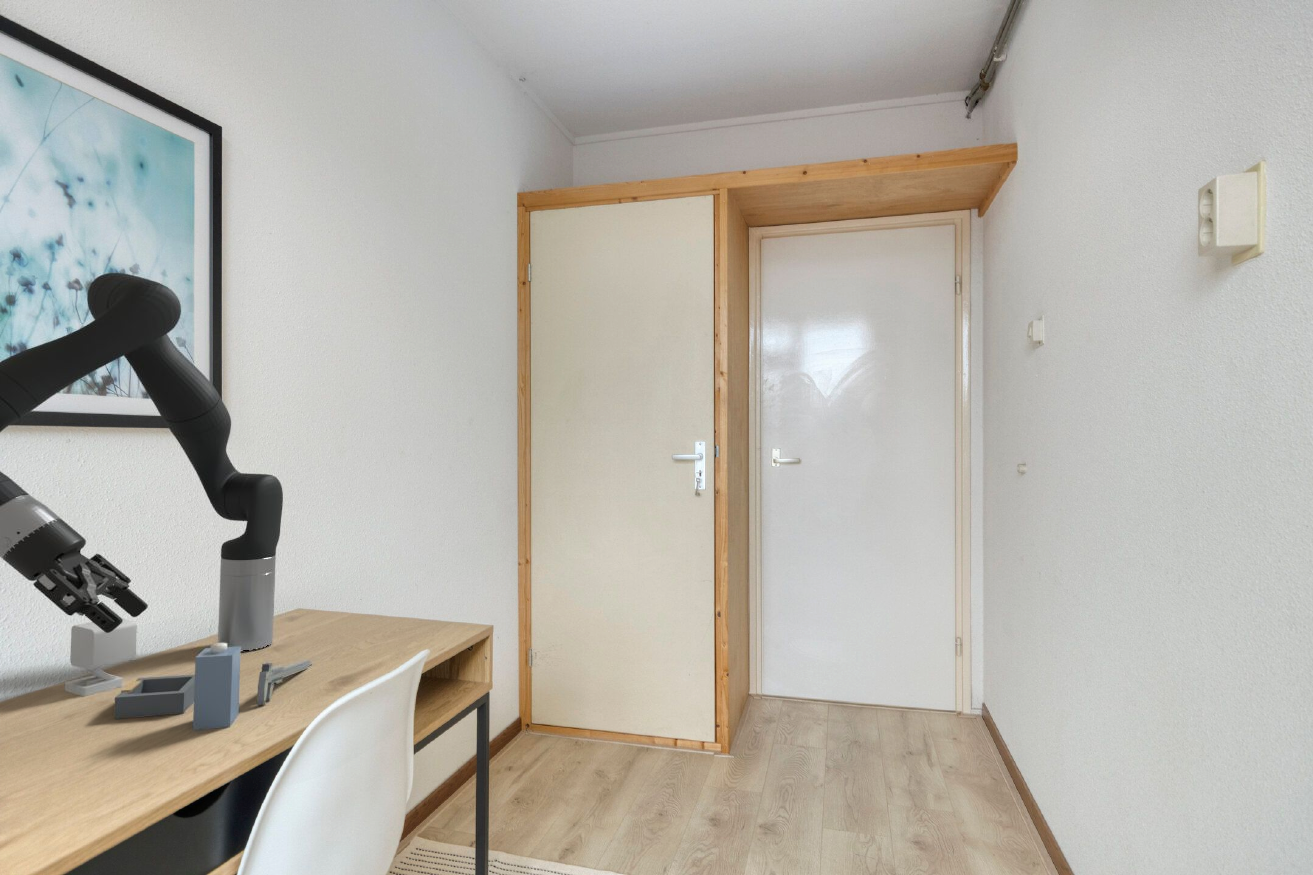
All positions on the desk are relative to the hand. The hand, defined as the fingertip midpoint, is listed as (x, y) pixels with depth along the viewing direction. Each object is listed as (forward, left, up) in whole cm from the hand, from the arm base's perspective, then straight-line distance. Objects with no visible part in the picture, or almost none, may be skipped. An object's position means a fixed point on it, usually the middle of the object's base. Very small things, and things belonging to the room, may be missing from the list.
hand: (129, 619), depth 96 cm
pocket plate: (-7, +5, -15) cm, 17 cm away
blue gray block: (+5, +10, -15) cm, 19 cm away
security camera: (-22, -1, -15) cm, 27 cm away
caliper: (-6, +22, -16) cm, 28 cm away
